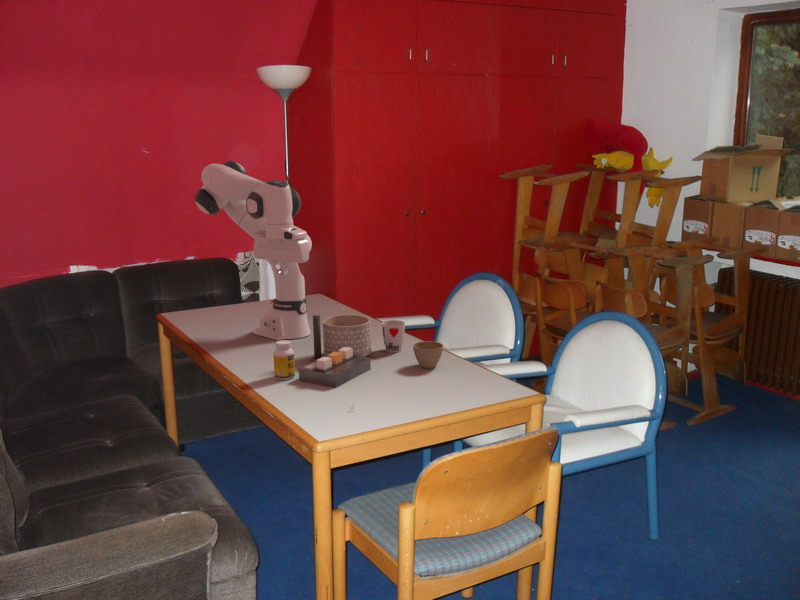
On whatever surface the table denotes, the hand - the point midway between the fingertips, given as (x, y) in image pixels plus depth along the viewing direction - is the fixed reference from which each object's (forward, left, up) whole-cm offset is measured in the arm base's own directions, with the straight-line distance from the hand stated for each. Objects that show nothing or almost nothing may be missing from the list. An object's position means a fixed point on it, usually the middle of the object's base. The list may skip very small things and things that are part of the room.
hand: (281, 274), depth 245 cm
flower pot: (+42, +22, -31) cm, 57 cm away
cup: (+23, +32, -31) cm, 50 cm away
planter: (+12, +19, -31) cm, 39 cm away
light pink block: (+20, -6, -27) cm, 34 cm away
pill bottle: (+7, -10, -31) cm, 33 cm away
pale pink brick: (+20, +6, -27) cm, 34 cm away
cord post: (+7, +8, -31) cm, 33 cm away
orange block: (+20, 0, -27) cm, 34 cm away
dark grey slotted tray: (+20, 0, -31) cm, 37 cm away
